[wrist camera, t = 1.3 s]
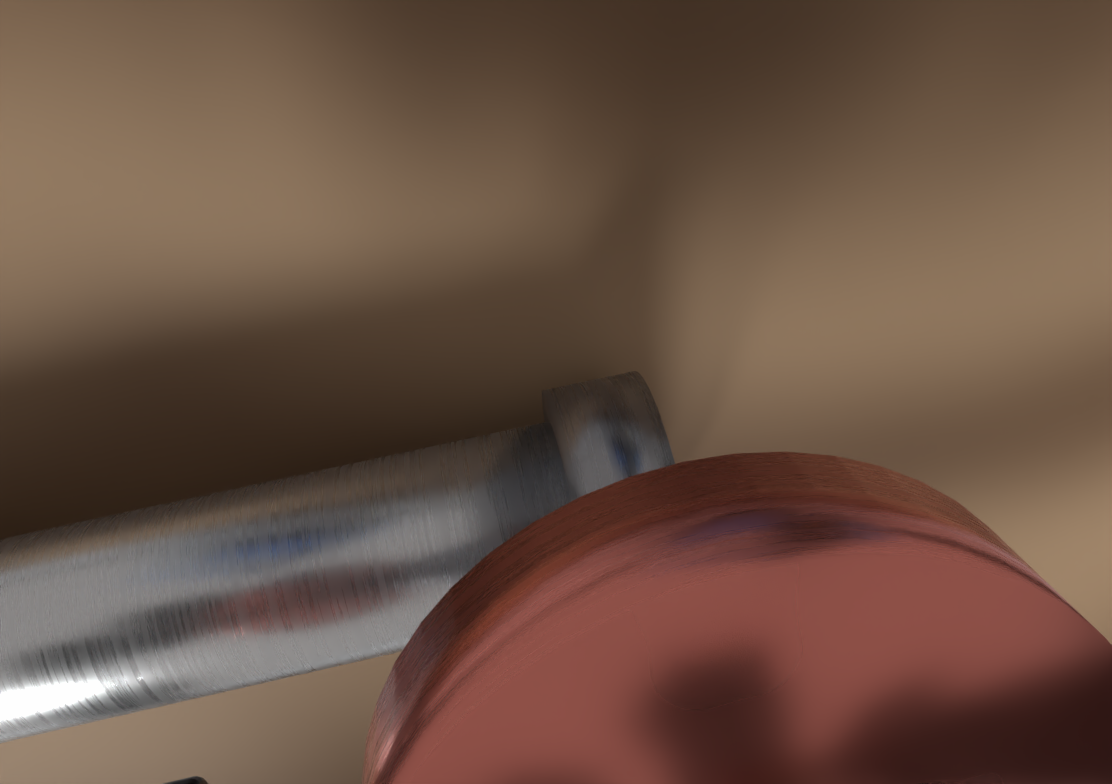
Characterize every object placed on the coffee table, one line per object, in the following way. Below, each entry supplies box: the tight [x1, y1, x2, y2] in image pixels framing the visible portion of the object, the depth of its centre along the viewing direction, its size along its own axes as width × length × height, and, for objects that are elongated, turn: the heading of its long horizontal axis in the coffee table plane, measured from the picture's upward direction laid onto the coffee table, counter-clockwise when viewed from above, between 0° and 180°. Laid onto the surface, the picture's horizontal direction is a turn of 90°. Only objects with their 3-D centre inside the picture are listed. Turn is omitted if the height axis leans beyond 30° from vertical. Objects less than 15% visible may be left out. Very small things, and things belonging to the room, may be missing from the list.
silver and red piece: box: [0, 371, 1112, 784], centre depth 10 cm, size 6×19×8 cm, turn 99°
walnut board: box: [0, 0, 1112, 784], centre depth 14 cm, size 14×28×1 cm, turn 99°
